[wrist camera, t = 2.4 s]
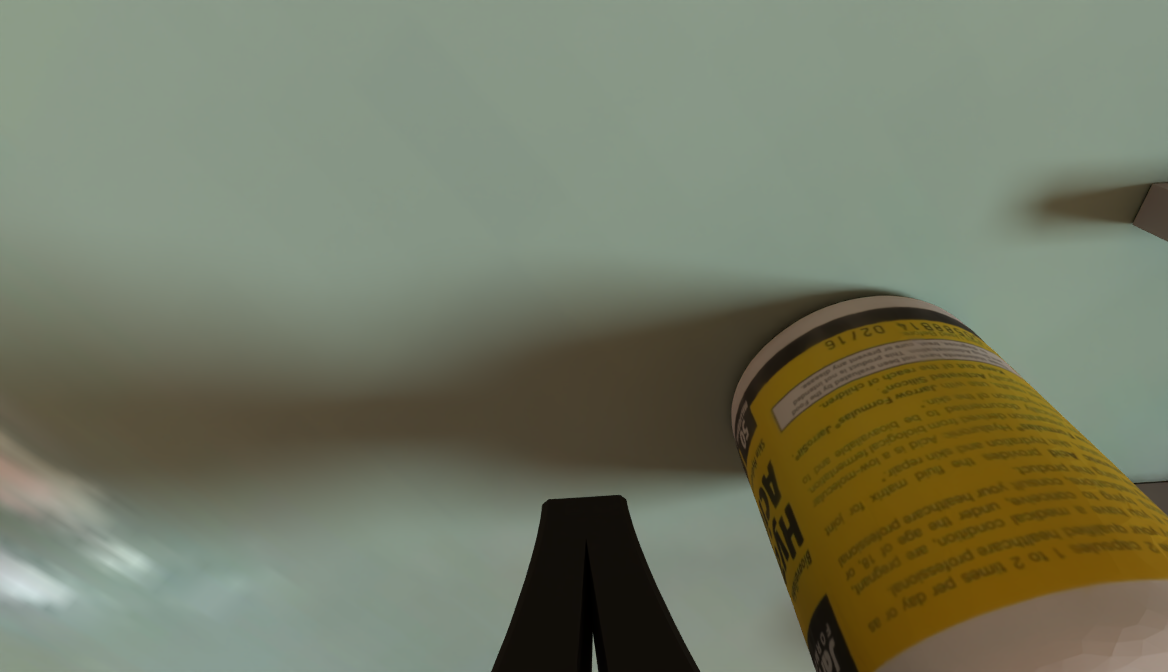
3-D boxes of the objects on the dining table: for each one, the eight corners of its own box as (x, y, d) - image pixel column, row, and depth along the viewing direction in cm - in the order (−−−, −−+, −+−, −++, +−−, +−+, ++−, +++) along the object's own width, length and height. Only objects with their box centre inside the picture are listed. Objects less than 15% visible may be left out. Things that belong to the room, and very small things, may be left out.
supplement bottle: (682, 369, 13) (909, 1121, 5) (932, 238, 11) (1927, 1003, 3) (779, 505, 15) (1035, 1141, 7) (992, 414, 14) (1620, 1084, 6)
